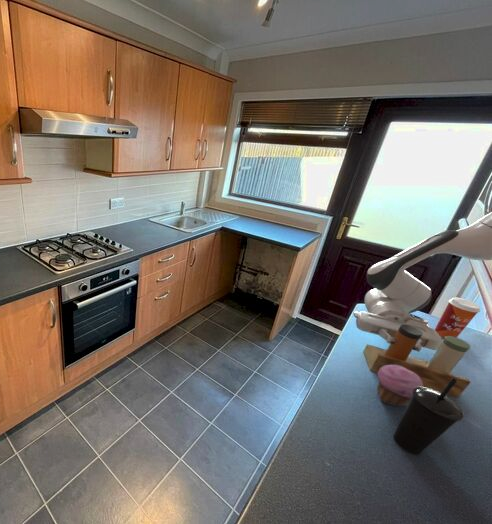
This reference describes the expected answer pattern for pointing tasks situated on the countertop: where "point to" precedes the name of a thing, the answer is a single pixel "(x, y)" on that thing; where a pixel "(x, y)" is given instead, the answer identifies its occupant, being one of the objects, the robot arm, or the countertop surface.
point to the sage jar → (448, 354)
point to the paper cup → (456, 317)
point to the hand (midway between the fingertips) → (404, 345)
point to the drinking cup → (426, 418)
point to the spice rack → (416, 370)
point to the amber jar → (404, 342)
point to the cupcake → (397, 384)
